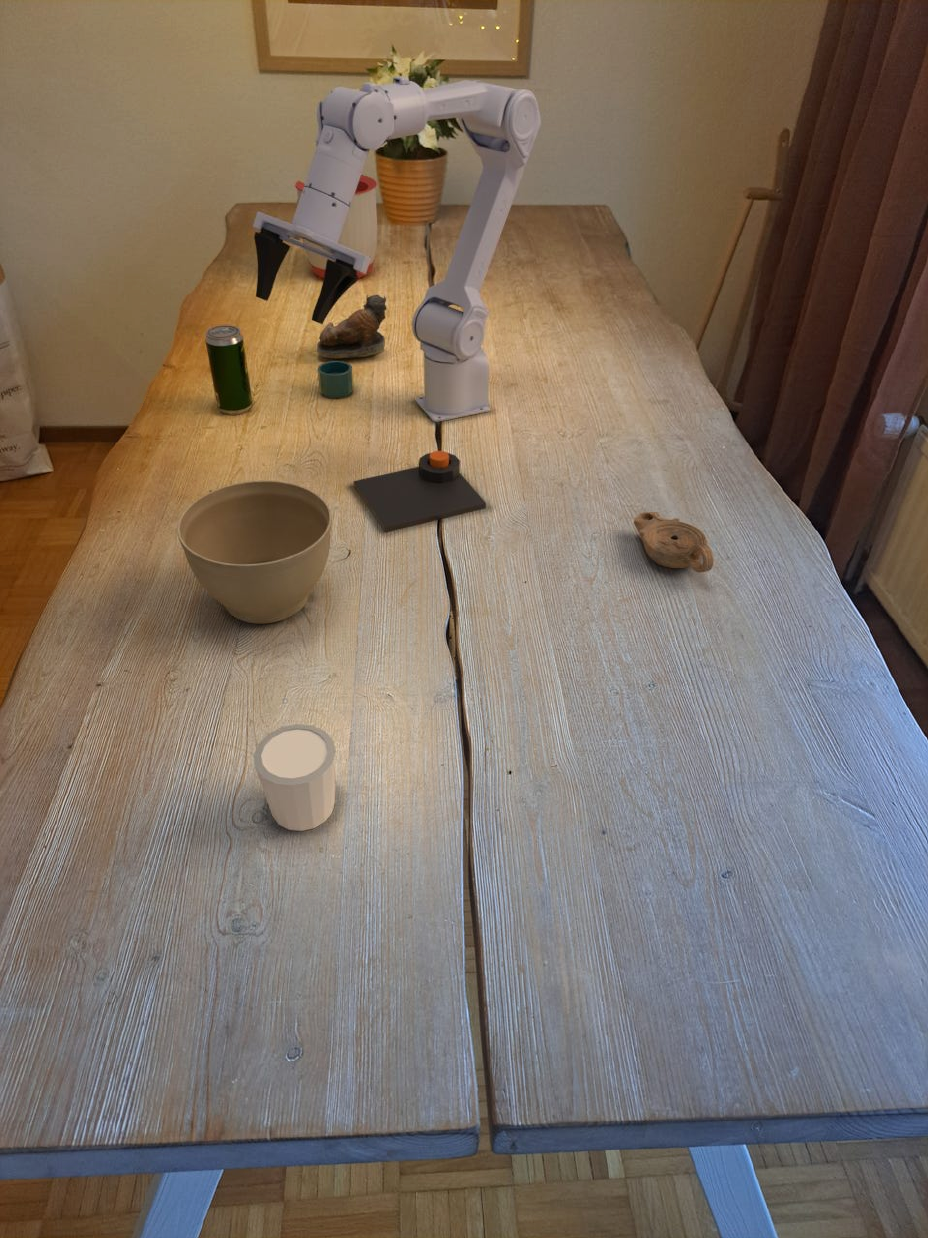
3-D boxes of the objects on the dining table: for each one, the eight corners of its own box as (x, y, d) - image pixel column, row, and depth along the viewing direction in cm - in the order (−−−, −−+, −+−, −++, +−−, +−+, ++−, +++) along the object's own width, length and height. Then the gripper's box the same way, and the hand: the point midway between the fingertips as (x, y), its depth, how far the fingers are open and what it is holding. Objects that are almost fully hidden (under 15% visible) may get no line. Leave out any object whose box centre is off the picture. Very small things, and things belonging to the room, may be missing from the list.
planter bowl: (218, 663, 95) (200, 581, 88) (179, 579, 106) (161, 500, 99) (360, 619, 101) (354, 538, 94) (310, 544, 112) (301, 467, 105)
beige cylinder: (267, 777, 83) (257, 725, 79) (342, 773, 84) (336, 721, 79) (260, 839, 78) (249, 786, 74) (340, 834, 79) (334, 782, 74)
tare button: (444, 457, 124) (444, 449, 123) (451, 466, 122) (451, 457, 122) (426, 461, 123) (426, 452, 122) (434, 470, 122) (434, 461, 121)
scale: (449, 464, 127) (449, 448, 125) (487, 508, 119) (488, 491, 117) (353, 485, 122) (351, 469, 121) (385, 533, 114) (384, 516, 112)
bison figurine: (318, 365, 151) (312, 305, 145) (317, 348, 157) (312, 289, 150) (390, 362, 153) (387, 303, 146) (387, 345, 158) (384, 287, 151)
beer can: (225, 418, 137) (212, 342, 129) (212, 404, 140) (198, 329, 132) (258, 409, 139) (247, 334, 131) (244, 396, 142) (233, 321, 135)
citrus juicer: (333, 252, 195) (325, 150, 182) (396, 269, 187) (392, 163, 174) (281, 272, 185) (269, 165, 172) (345, 291, 177) (337, 181, 164)
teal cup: (347, 381, 147) (345, 358, 144) (358, 395, 143) (356, 371, 140) (315, 387, 145) (313, 363, 142) (326, 401, 141) (323, 377, 139)
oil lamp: (617, 536, 114) (622, 502, 111) (667, 523, 116) (674, 490, 113) (675, 596, 105) (682, 561, 102) (729, 581, 107) (738, 546, 104)
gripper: (258, 165, 104) (221, 282, 107) (371, 210, 102) (330, 328, 105) (283, 182, 111) (247, 292, 114) (389, 225, 109) (350, 335, 112)
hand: (289, 310), depth 110 cm, fingers open, 7 cm apart
